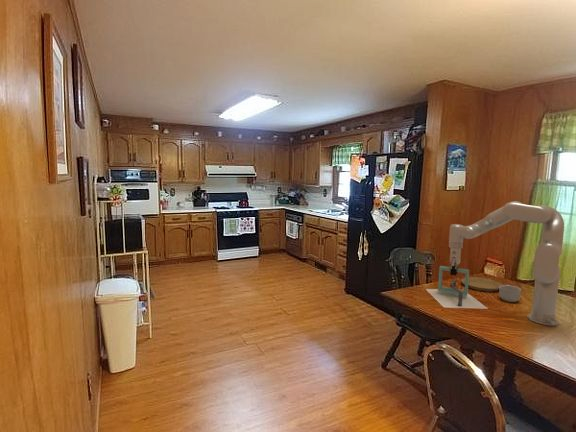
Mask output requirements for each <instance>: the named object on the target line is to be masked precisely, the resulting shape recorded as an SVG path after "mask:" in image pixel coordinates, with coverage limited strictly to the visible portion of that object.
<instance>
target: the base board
mask: <svg viewBox="0 0 576 432" xmlns="http://www.w3.org/2000/svg"><path fill="white" fill-rule="evenodd" d="M425 291H427V293H428V294H430V295H431V297H433V299H435V300H436V301H437V302H438V303H439V304H440V306H442V307H443V308H444V309H445V308H450V309H478V310H479V309H482V310H483V309H484V310H485V309H487V310H488V309H489V307H487V306H485V305H484V304H482V302H480V301H479V300H478V299H476V298H475V297H474V296H472V295H471V294H469V293H468V294H467V296H463V297H462V306H461V307H460V306H458V297H459V295H457V294H452V293H446V292H440V291H438V288H425Z"/></svg>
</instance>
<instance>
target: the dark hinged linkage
mask: <svg viewBox="0 0 576 432" xmlns="http://www.w3.org/2000/svg"><path fill="white" fill-rule="evenodd" d="M456 286H457V279H452V282H451V283H450V284H449V288H453V289H454V290H455V291H456V292H458V293H459V297H458V306H460V307H461V306H462V297H463V293H462V292H461V291H460V290H461V289H460V288H457V287H456ZM459 289H460V290H459Z"/></svg>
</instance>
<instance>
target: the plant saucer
mask: <svg viewBox="0 0 576 432" xmlns="http://www.w3.org/2000/svg"><path fill="white" fill-rule="evenodd" d="M460 280H461V283H462V285H463V286H465V277H463V278H461V279H460ZM502 285H503V284H502V283H501V282H499V281H497V280H493V279H489V278H485V277H479V276H478V277H477V276H476V277H475V276H472V277H471V276H469V282H468V289H470V290H474V291H479V292H480V291H481V292H486V293H487V292H488V293H489V292H497V291H499V287H500V286H502Z"/></svg>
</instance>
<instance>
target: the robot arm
mask: <svg viewBox="0 0 576 432" xmlns="http://www.w3.org/2000/svg"><path fill="white" fill-rule="evenodd" d="M513 220H517V221H522V222H525V223H532V224H542V229H541V238H540V243H539V244H538V245H537V246H536V249H535V251H534V257H533V266H532V276H533V278H534V288H533V295H532V296H533V297H532V305H531V313H529V314H527V319H528V320H529V321H531V322H533V323H536V324H539V325H543V326H557V325H558V324H559V320H558V319H557V316H556V310H557V300H558V292H559V284H560V279H561V268H560V266H559V263H560V257H561V256H562V253H563V242H564V234H565V233H564V232H565V220H564V218H563V216H562V214H561V213H560V212H559V211H558V209H557V210H556V209H555V208H553V207H552V206H549V205H544V204H541V205H537V206H536V205H531V204H524V203H523V202H521V201H516V200H514V201H510V202H507V203H505V204H504V205H503V206H501V207H500V208H498V209H496V210H494V211H492V212H490V213H488V214H487V215H486V216H485V217H484V218H482V219H480V220H478V221H477V222H473V224H470V225H462V224H459V223H454V224H453V223H451V224H450V226H449V233H448V234H449V236H448V247H449V248H450V251H449V252H450V254H449V264H450V267H451V271H449V273H450V275H451V276H455V277H456V276H457V274H458V272H457V269H456V268H458V267H459V266H458V265H460V263H461V255H462V253H461V252H462V249H463V247H464V246H463V245H464V239H467V240H471V239H474V238H477V237H479V236H480V235H483V234H485V233H488V232H490V231H491V230H494V229H496V228H499V227H501V226H503V225H506V224H507V223H509V222H512V221H513Z"/></svg>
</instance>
